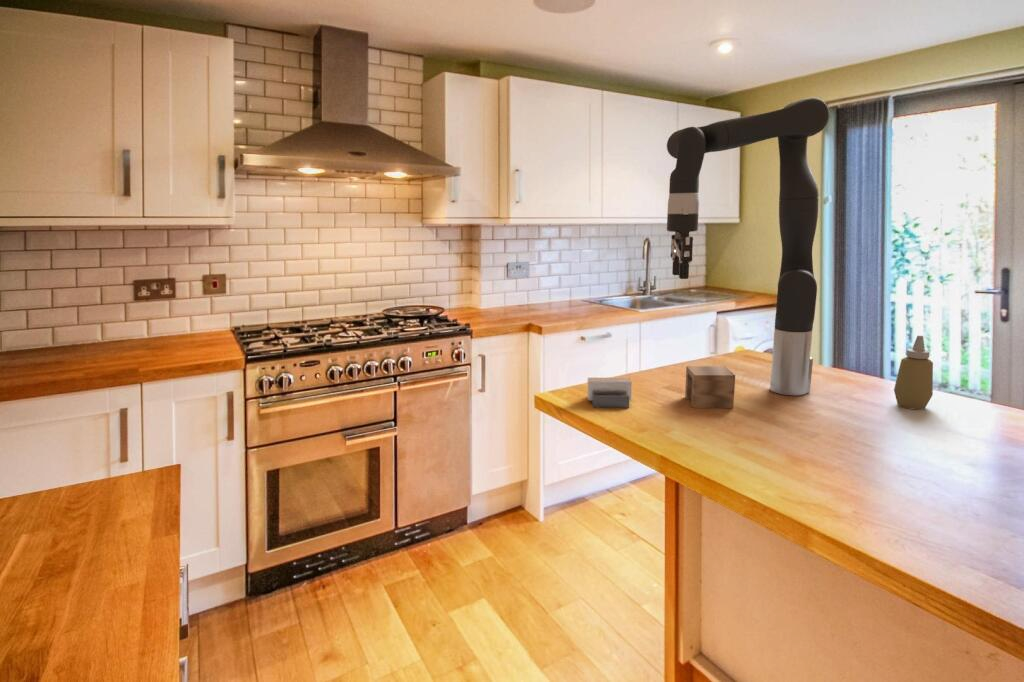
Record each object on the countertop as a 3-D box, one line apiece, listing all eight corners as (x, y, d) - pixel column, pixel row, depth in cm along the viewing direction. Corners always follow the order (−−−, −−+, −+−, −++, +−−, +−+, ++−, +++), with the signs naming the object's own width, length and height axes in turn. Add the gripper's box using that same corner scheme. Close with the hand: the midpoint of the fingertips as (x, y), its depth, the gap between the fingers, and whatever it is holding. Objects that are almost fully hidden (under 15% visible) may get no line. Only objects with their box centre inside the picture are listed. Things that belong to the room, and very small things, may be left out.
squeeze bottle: (936, 412, 147) (946, 339, 144) (900, 410, 149) (908, 338, 145) (921, 402, 155) (931, 333, 151) (887, 400, 157) (895, 332, 153)
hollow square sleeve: (723, 397, 162) (725, 366, 160) (733, 408, 153) (735, 375, 151) (685, 397, 162) (686, 366, 160) (692, 407, 153) (694, 375, 152)
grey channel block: (624, 396, 164) (624, 385, 163) (629, 408, 154) (629, 396, 153) (590, 396, 164) (590, 385, 164) (593, 407, 155) (593, 396, 154)
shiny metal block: (629, 396, 160) (629, 377, 159) (631, 400, 157) (631, 382, 156) (587, 395, 161) (587, 377, 160) (588, 400, 157) (588, 381, 156)
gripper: (662, 212, 159) (660, 274, 163) (673, 212, 146) (670, 280, 149) (691, 211, 159) (688, 274, 162) (705, 212, 145) (701, 279, 148)
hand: (680, 276), depth 156 cm, fingers open, 8 cm apart
